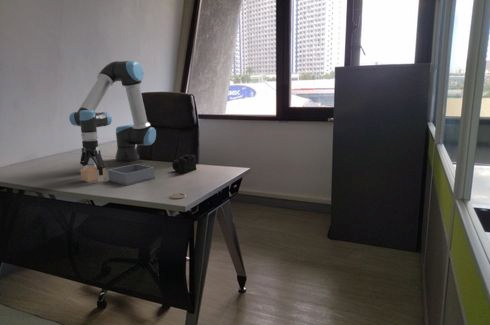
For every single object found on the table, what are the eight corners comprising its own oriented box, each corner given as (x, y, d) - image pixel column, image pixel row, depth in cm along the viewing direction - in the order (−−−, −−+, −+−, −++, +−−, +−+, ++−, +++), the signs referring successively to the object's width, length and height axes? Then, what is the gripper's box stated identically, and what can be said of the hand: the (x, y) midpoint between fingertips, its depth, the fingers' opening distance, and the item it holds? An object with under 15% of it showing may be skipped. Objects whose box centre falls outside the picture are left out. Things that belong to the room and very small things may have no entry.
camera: (184, 167, 219) (183, 151, 217) (198, 169, 214) (198, 153, 212) (169, 172, 207) (168, 155, 205) (183, 175, 202) (182, 157, 200)
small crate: (98, 176, 200) (97, 166, 198) (105, 178, 196) (104, 167, 194) (81, 180, 192) (80, 169, 191) (88, 182, 188) (87, 171, 187)
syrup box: (95, 172, 208) (93, 148, 205) (86, 172, 210) (83, 147, 206) (101, 170, 214) (98, 146, 211) (92, 170, 215) (89, 146, 212)
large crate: (136, 174, 204) (136, 163, 203) (154, 178, 195) (154, 167, 194) (109, 180, 191) (107, 169, 190) (126, 185, 182) (125, 174, 180)
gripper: (70, 138, 194) (74, 177, 198) (96, 143, 179) (100, 184, 183) (84, 137, 200) (87, 174, 204) (109, 141, 185) (113, 181, 189)
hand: (93, 179), depth 194 cm, fingers open, 13 cm apart
